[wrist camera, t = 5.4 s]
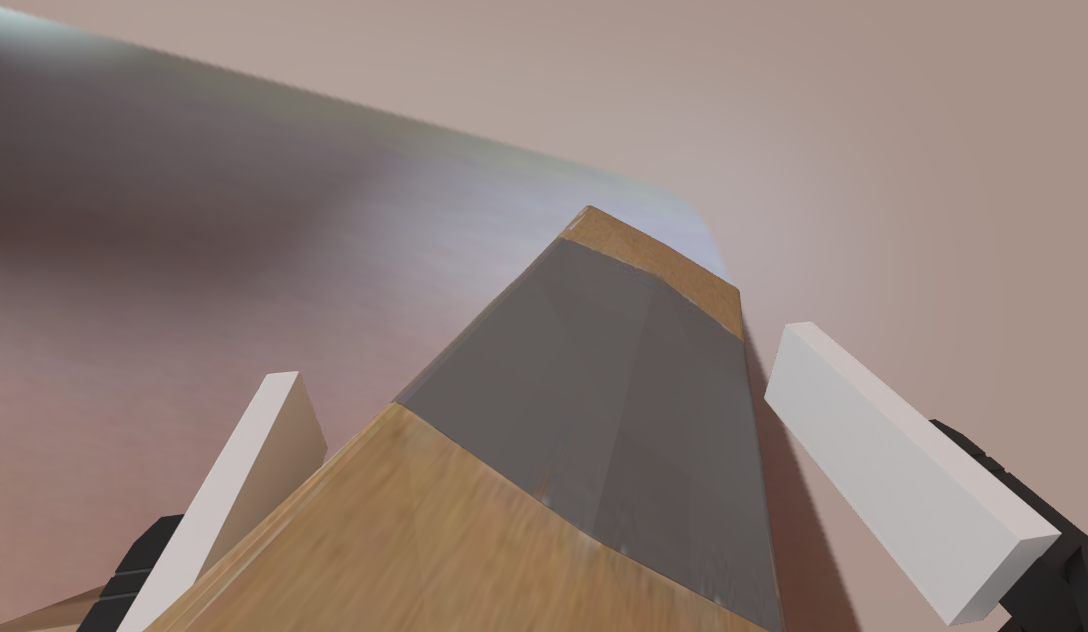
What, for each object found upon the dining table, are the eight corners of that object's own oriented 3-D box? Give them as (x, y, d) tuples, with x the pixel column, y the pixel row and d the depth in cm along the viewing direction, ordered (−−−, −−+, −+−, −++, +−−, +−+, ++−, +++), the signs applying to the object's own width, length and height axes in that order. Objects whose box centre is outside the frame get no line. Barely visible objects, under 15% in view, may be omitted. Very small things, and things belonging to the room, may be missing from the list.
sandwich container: (746, 291, 22) (1237, 5, 7) (587, 618, 18) (947, 1423, 3) (585, 199, 22) (741, -244, 8) (397, 499, 18) (-10, 753, 4)
